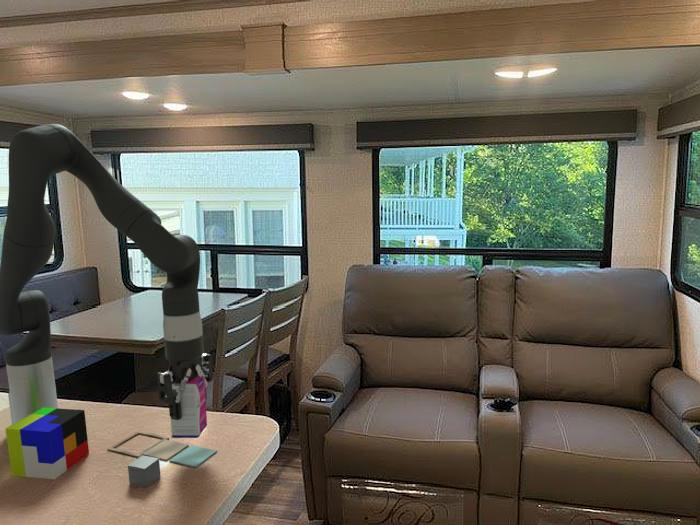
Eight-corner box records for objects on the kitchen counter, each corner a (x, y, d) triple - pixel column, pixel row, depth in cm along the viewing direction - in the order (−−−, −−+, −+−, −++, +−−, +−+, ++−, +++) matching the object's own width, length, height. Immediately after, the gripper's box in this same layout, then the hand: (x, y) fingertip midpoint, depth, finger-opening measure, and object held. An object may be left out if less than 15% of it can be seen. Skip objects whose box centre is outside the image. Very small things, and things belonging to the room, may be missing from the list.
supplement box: (199, 438, 107) (195, 384, 106) (171, 438, 108) (166, 384, 106) (208, 425, 113) (204, 373, 111) (181, 425, 113) (177, 374, 112)
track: (107, 450, 115) (107, 448, 115) (139, 432, 123) (138, 430, 123) (192, 470, 106) (191, 469, 106) (220, 449, 114) (220, 448, 114)
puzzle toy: (54, 479, 104) (49, 431, 103) (11, 475, 106) (5, 428, 105) (89, 454, 114) (84, 410, 113) (49, 450, 116) (43, 407, 115)
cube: (129, 484, 102) (127, 465, 101) (144, 474, 105) (142, 455, 105) (146, 488, 100) (144, 468, 100) (160, 477, 104) (159, 458, 104)
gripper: (172, 346, 99) (179, 429, 102) (220, 326, 112) (225, 400, 115) (142, 342, 102) (149, 423, 105) (192, 323, 115) (197, 396, 118)
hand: (189, 411), depth 110 cm, fingers closed on supplement box, 7 cm apart
